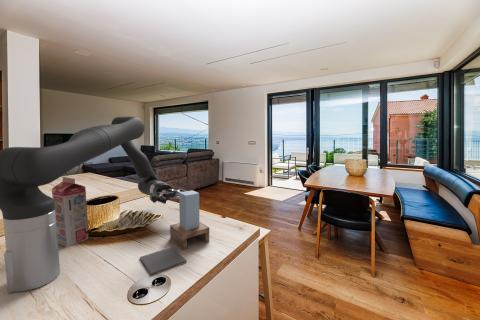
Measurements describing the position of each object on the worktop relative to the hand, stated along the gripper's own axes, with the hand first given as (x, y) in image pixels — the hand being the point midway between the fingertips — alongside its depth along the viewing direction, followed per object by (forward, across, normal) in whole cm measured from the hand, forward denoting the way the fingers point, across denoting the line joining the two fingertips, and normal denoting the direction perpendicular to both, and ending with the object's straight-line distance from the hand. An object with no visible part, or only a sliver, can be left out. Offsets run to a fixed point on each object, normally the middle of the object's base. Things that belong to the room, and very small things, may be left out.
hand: (176, 199), depth 85 cm
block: (+11, 0, +7) cm, 13 cm away
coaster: (+18, -12, +12) cm, 25 cm away
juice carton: (-13, -32, +12) cm, 37 cm away
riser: (+11, 0, +12) cm, 16 cm away
